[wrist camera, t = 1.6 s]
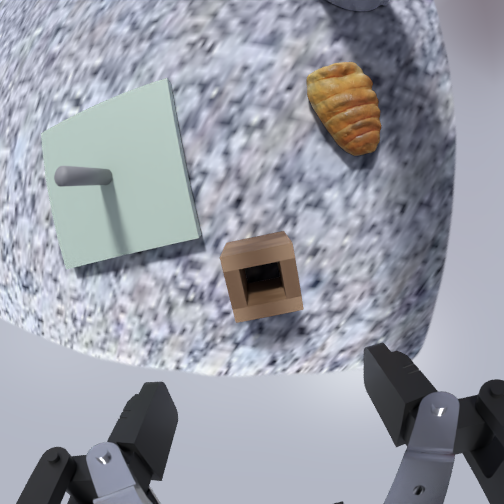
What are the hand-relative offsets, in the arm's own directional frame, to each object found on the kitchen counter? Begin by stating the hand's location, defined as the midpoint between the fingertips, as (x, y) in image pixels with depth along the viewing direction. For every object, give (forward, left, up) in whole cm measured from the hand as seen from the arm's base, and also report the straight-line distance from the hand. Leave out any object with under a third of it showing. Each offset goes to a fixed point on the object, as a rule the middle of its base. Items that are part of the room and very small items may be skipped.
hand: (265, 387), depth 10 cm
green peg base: (+13, -12, -18) cm, 25 cm away
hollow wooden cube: (0, 0, -19) cm, 19 cm away
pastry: (-12, -14, -19) cm, 26 cm away
